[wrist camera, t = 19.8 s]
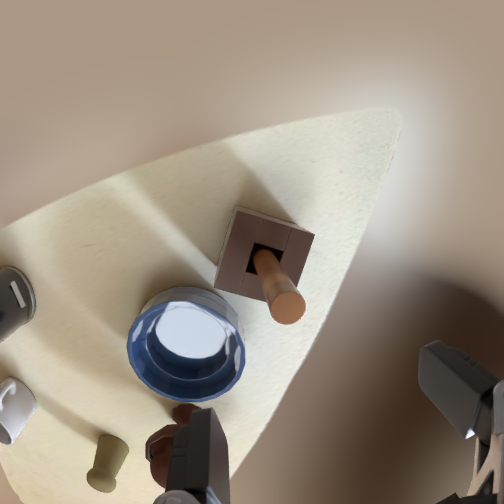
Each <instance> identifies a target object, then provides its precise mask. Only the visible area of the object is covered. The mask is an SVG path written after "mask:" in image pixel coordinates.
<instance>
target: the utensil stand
mask: <svg viewBox="0 0 504 504" xmlns="http://www.w3.org/2000/svg"><path fill="white" fill-rule="evenodd" d="M314 236H315V234H313V233H311V232H309V231H308V230H306V229H304V228H302V227H300V226H299V225H297V224H293V223H290V222H287V221H284V220H281V219H278V218H275V217H271V216H268V215H265V214H262V213H258V212H255V211H252V210H249V209H245V208H242V207H239V206H235V208H234V211H233V214H232V218H231V221H230V224H229V228H228V231H227V234H226V238H225V241H224V244H223V248H222V251H221V254H220V258H219V261H218V264H217V269H216V276H215V283H214V288H216V289H219V290H223V291H227V292H230V293H234V294H238V295H241V296H245V297H249V298H252V299H256V300H260V301H264V302H267V301H266V298H265V295H264V292H263V289H262V286H261V283H260V280H259V277H258V274H257V271H256V268H255V266H254V263H253V260H252V257H250V255H251V252H252V249H253V246H254V242H255V243H258V244H261V245H264V246H268V247H269V248H270V250H271V251H272V253H273V254H274V256H275V257H276V258H277V260H278V261H279V263H280V264H281V266H282V267H283V269H284V270H285V272H286V273H287V275H288V276H289V278H290V279H291V281H292V282H293V284H294V285H295V287H296V288H297V285H298V282H299V279H300V276H301V274H302V271H303V268H304V265H305V262H306V259H307V256H308V253H309V251H310V248H311V245H312V242H313V239H314Z"/></svg>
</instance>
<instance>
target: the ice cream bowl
mask: <svg viewBox="0 0 504 504" xmlns="http://www.w3.org/2000/svg"><path fill="white" fill-rule="evenodd" d="M199 409H201V408H199V407H197V406H195V405H192V404H180V405H179V406H177V407H176V408H174V409H173V415H172V417H173V420H174V421H175V422H176V423H177V424H171V425H166V426H165V427H163V428H162V429H160V430H159V431H157V432H155V433H154V434H153V435H151V436H150V437H149V439H148V440H147V442H146V459H147V460H148V461H149V462H150V470H151V474H152V477H153V479H154V480H155V481H156V482H157V483H158V484H159V485H160V486H161V487H163V488H165V489H166V483H167V476H168V470H169V463H170V458H171V451H172V449H173V448H172V445H173V439H174V435H175V434H176V432H177V431H178V429H179V428H180V426H181V425H189V424H190V420H191V412H192V411H193V410H199Z"/></svg>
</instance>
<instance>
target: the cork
mask: <svg viewBox="0 0 504 504" xmlns="http://www.w3.org/2000/svg"><path fill="white" fill-rule="evenodd" d="M128 452H129V448H128V446H127V444H126V443H125V442H124V441H122V440H121V439H119V438H117V437H115V436H112V435H103V436H101V437H100V438H99V442H98V446H97V451H96V455H95V460H94V465H93V468H92V469H90V470H89V472H88V473H87V482H88V484H89V485H90V486H91V487H93V488H94V489H96V490H98V491H100V492H105V493H109V492H112V491H113V490H114V489H115V487H116V479H115V477H116V475H117V473H118V471H119V469H120V468H121V466H122V464H123V462H124V460H125V458H126V456H127V454H128Z"/></svg>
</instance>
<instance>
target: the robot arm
mask: <svg viewBox="0 0 504 504" xmlns="http://www.w3.org/2000/svg"><path fill="white" fill-rule="evenodd" d="M35 306H36V305H35V296H34V292H33V289H32V287H31V285H30V283H29V281H28V280H27V278H26V277H25V276H24V274H23V273H22V272H21V271H19V270H18V269H16V268H14V267H10V266H7V267H4V268H1V269H0V343H1V342H2V341H4V340H5V339H6V338H7V337H9V336H10V335H11V334H12V333H14V332H15V331H16V330H17V329H19V328H20V327H21V326H22V325H24V324H26V323H27V322H29V321H30V320H31V319H32V317H33V315H34V313H35ZM418 382H419V385H420V388H421V389H422V391H423V392H424V393H425V394H426V396H427V397H428V398H429V399H430V400H431V401H432V402H433V403H434V405H436V407H437V408H438V409H439V410H440V411H441V412H442V414H443V415H444V416H445V417H446V418H447V419H448V420H449V422H450V423H451V424H452V425H453V426H454V427H455V428H456V430H457V431H458V432H459V433H460V434H461V435H462V437H463V438H464V439H465V440H466V439H467V438H469V437H470V436H472V435H473V434H476V435H477V436H478V437H477V440H476V449H475V461H474V470H473V478H472V483H471V486H470V489H469V491H468V495H467V497H462V498H459V497H458V496H457V494H456V493H454V494H452V495H451V496H449V497H447V498H446V499H444V500H442V501H440V502H438V503H437V504H504V380H502V381H501V380H500V379H499V378H498V377H496V376H495V375H494V374H493V373H491V372H490V371H489V370H488V369H486V368H485V367H484V366H482V365H481V364H480V363H478V362H477V361H476V360H475V359H473V358H471V356H469V355H468V354H467V353H466V352H464V351H463V350H461V349H458V348H455V347H450V348H449V347H448V346H447V345H445V344H444V343H443V342H442V341H440V340H436V341H434V342H432V343H429V344H427V345H425V346H423V347H422V348H421V349H420V360H419V373H418ZM172 448H173V449H172V451H171V458H170V463H169V470H168V476H167V483H166V489H165V493H163V494H161V495H160V496H159V497H157V498H156V500H155V501H154V503H153V504H230V487H229V486H230V485H229V460H228V445H227V440H226V437H225V434H224V432H223V429H222V427H221V425H220V422H219V420H218V417H217V415H216V413H215V410H214V409H213V408H206V409H199V410H193V411H192V412H191V420H190V424H189V425H181V426H180V428H179V429H178V431H177V432H176V434H175V435H174V439H173V445H172Z"/></svg>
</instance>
